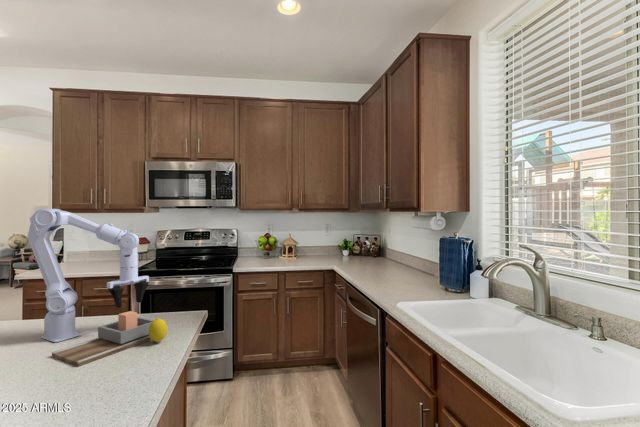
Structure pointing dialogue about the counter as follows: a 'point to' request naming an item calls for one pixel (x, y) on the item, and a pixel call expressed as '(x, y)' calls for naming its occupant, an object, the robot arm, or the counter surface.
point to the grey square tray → (121, 337)
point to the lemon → (157, 330)
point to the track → (94, 350)
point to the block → (127, 320)
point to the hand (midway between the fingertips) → (128, 304)
